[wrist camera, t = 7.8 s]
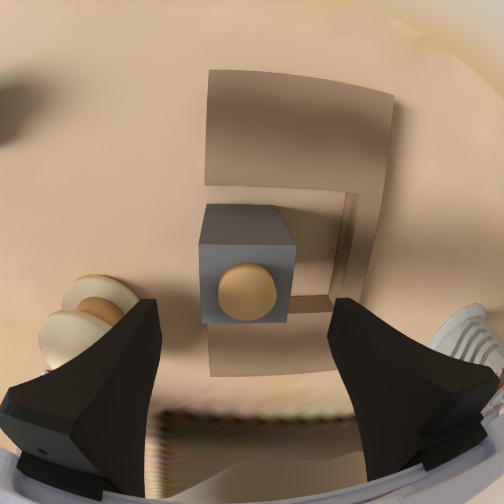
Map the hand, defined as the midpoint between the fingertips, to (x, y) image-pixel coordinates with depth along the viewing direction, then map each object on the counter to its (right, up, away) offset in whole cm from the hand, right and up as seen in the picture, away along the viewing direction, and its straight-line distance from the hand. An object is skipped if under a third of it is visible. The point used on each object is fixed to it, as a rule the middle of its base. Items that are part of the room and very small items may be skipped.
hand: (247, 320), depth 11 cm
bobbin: (-11, -2, +8) cm, 14 cm away
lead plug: (-1, +4, +7) cm, 8 cm away
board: (+2, +3, +7) cm, 8 cm away
